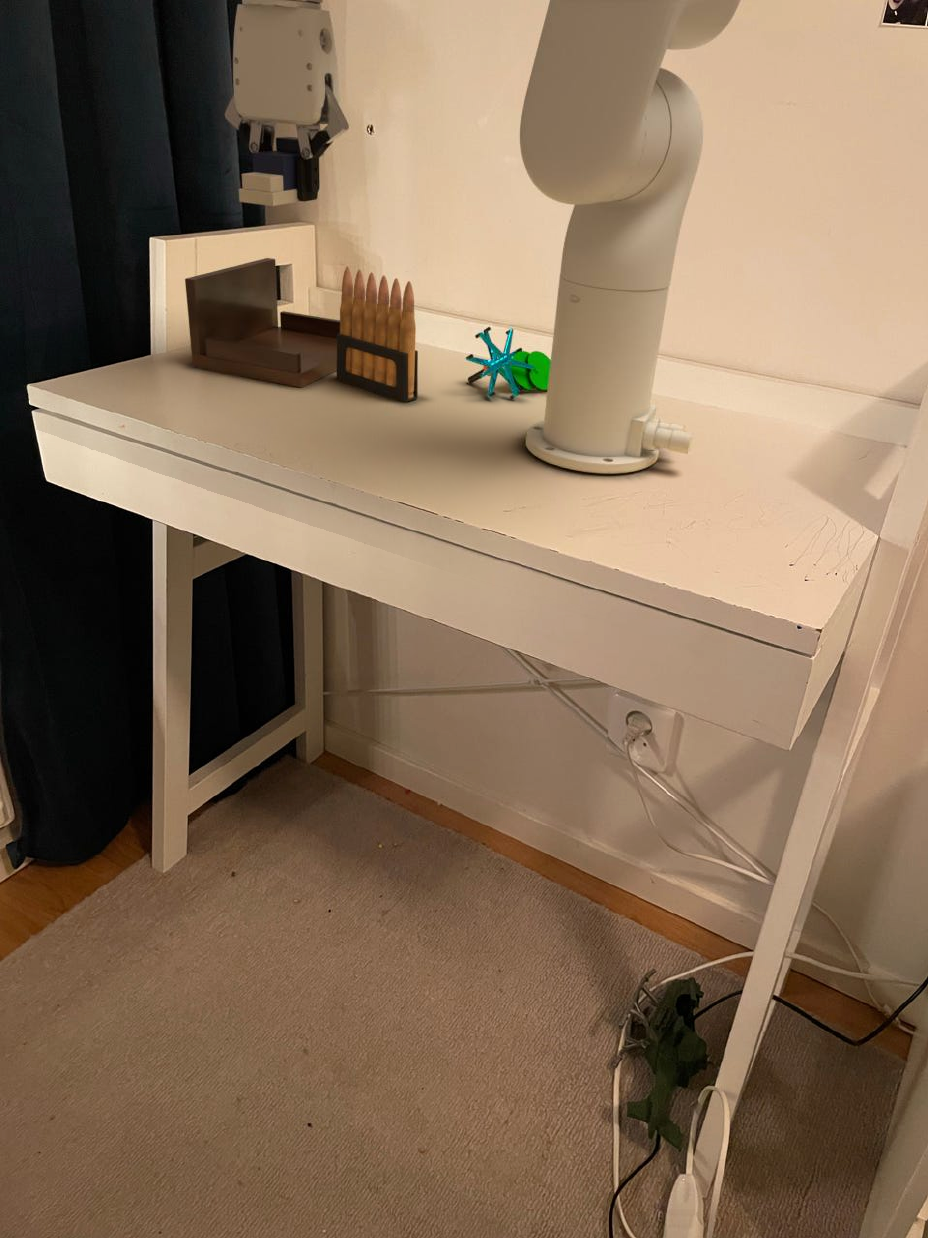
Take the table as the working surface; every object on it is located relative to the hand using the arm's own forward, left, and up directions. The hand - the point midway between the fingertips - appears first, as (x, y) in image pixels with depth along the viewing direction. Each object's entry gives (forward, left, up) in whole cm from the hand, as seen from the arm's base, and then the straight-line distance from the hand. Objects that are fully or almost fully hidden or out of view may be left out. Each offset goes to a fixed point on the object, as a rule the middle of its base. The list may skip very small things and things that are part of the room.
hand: (288, 195), depth 99 cm
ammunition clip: (-12, +3, -18) cm, 22 cm away
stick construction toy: (-24, -5, -18) cm, 31 cm away
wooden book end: (+2, -1, -18) cm, 18 cm away
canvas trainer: (0, +1, 0) cm, 1 cm away
